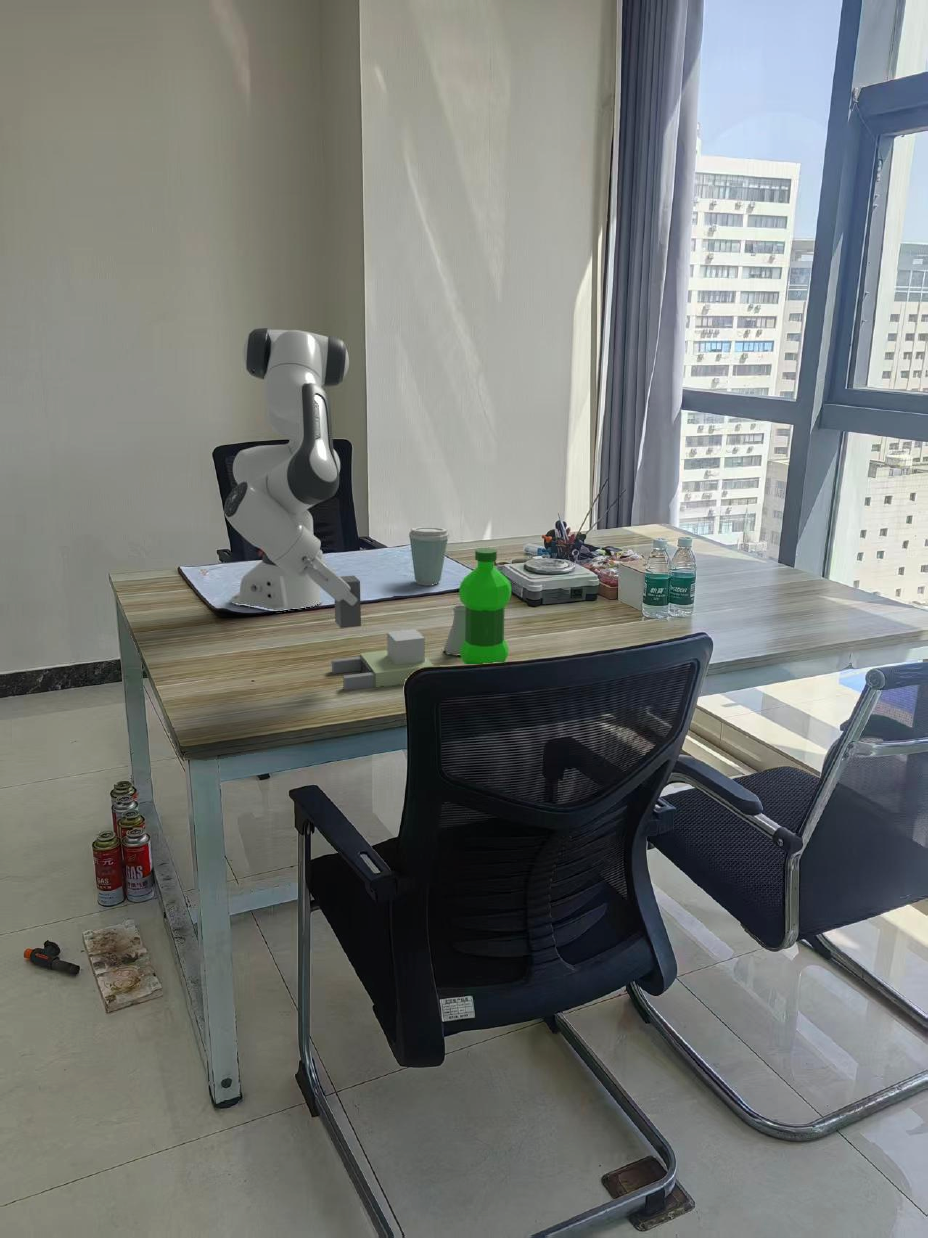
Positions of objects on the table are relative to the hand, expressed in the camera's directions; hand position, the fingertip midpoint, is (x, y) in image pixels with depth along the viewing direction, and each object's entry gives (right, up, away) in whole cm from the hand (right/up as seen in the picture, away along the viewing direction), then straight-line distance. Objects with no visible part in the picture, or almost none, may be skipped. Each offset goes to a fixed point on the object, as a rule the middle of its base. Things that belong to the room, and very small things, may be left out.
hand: (350, 597), depth 190 cm
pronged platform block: (+7, -15, +8) cm, 18 cm away
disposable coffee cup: (+13, +5, +73) cm, 74 cm away
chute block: (-1, -5, +1) cm, 5 cm away
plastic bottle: (+26, -15, +11) cm, 32 cm away
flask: (+21, -11, +21) cm, 32 cm away
